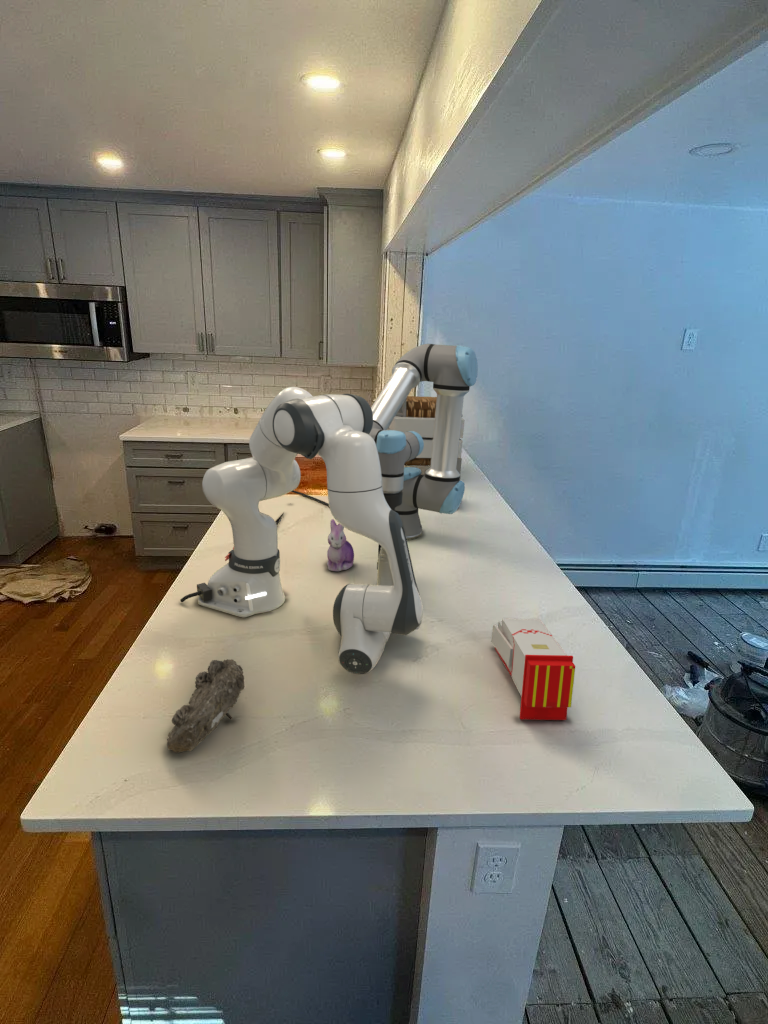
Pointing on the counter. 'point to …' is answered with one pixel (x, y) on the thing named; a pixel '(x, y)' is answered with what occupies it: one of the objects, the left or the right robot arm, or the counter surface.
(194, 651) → the counter surface
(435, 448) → the right robot arm
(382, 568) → the bottle
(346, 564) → the figurine
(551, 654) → the toy
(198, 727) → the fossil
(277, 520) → the feather
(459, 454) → the white wooden crate
